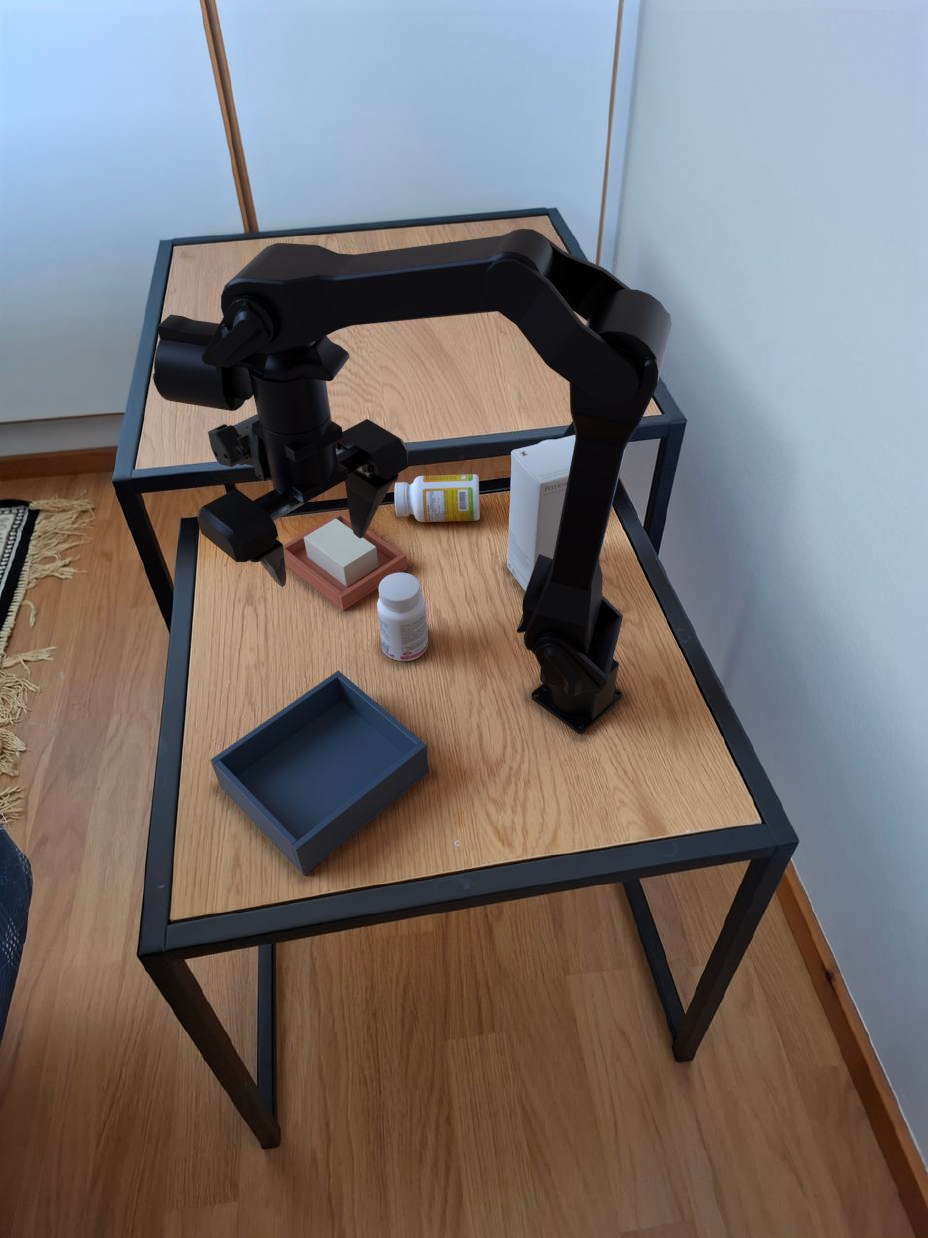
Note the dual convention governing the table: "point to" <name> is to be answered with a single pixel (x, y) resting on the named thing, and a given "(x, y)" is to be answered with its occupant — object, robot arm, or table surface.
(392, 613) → the pill bottle
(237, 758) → the box
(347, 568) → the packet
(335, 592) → the tray
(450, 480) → the supplement bottle
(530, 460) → the cosmetic box
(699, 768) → the table surface
